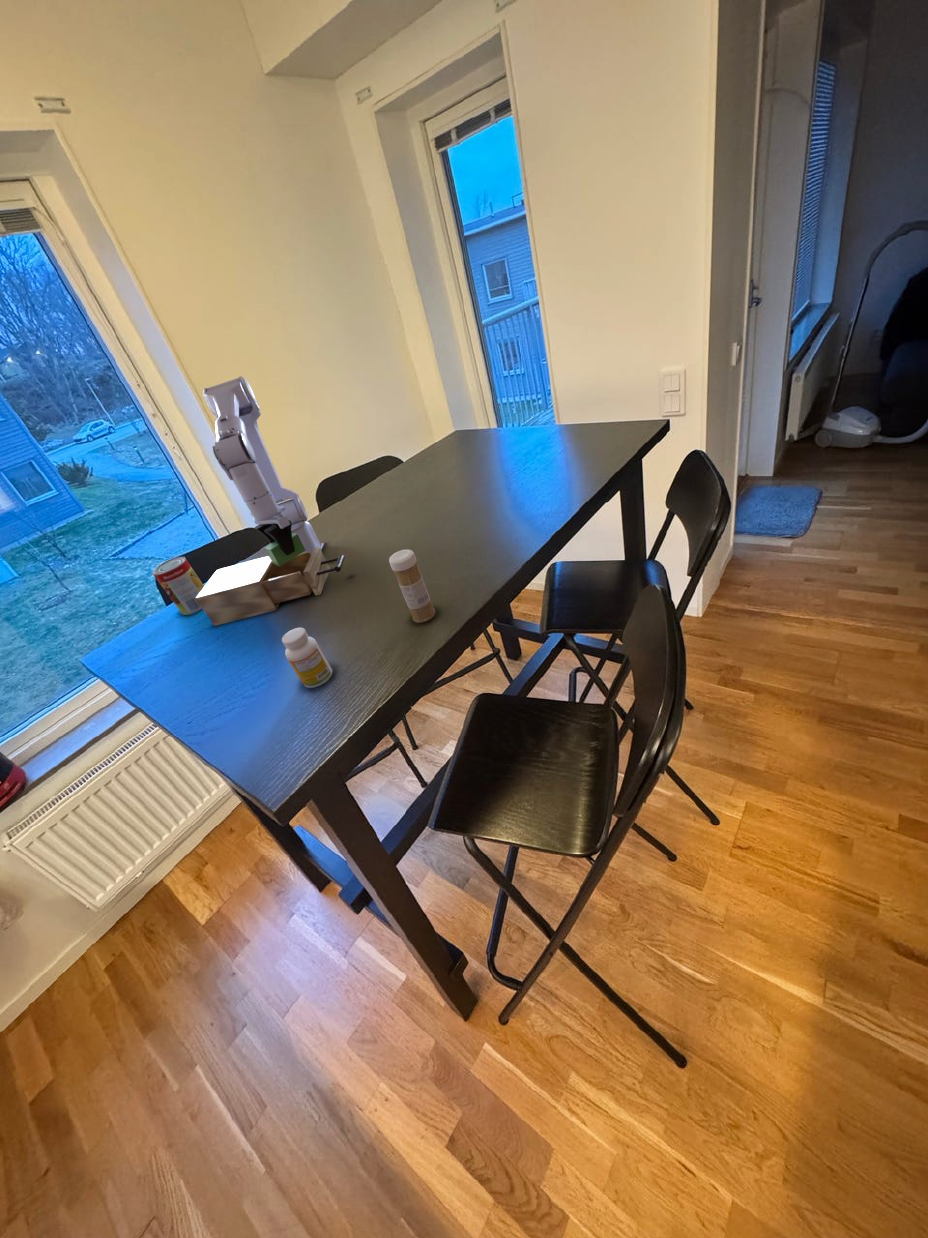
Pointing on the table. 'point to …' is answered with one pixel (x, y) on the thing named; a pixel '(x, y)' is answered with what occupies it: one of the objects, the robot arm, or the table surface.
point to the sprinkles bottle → (412, 585)
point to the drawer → (299, 576)
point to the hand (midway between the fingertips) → (286, 551)
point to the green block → (279, 556)
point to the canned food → (180, 584)
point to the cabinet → (237, 592)
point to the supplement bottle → (306, 658)
